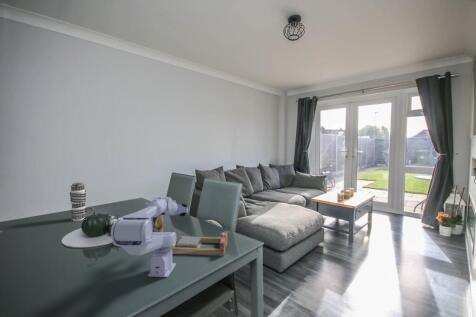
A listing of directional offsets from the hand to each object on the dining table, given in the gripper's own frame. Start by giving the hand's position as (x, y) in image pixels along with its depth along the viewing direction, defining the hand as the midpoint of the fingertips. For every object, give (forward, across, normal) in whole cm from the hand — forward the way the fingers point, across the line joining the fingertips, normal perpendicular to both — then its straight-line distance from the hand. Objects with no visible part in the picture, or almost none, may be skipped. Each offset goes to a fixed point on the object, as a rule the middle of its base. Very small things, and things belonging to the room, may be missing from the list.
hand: (177, 211), depth 110 cm
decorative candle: (+44, +79, +6) cm, 91 cm away
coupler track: (+6, -13, +16) cm, 21 cm away
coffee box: (+21, +16, +12) cm, 29 cm away
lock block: (+6, -8, +17) cm, 20 cm away
